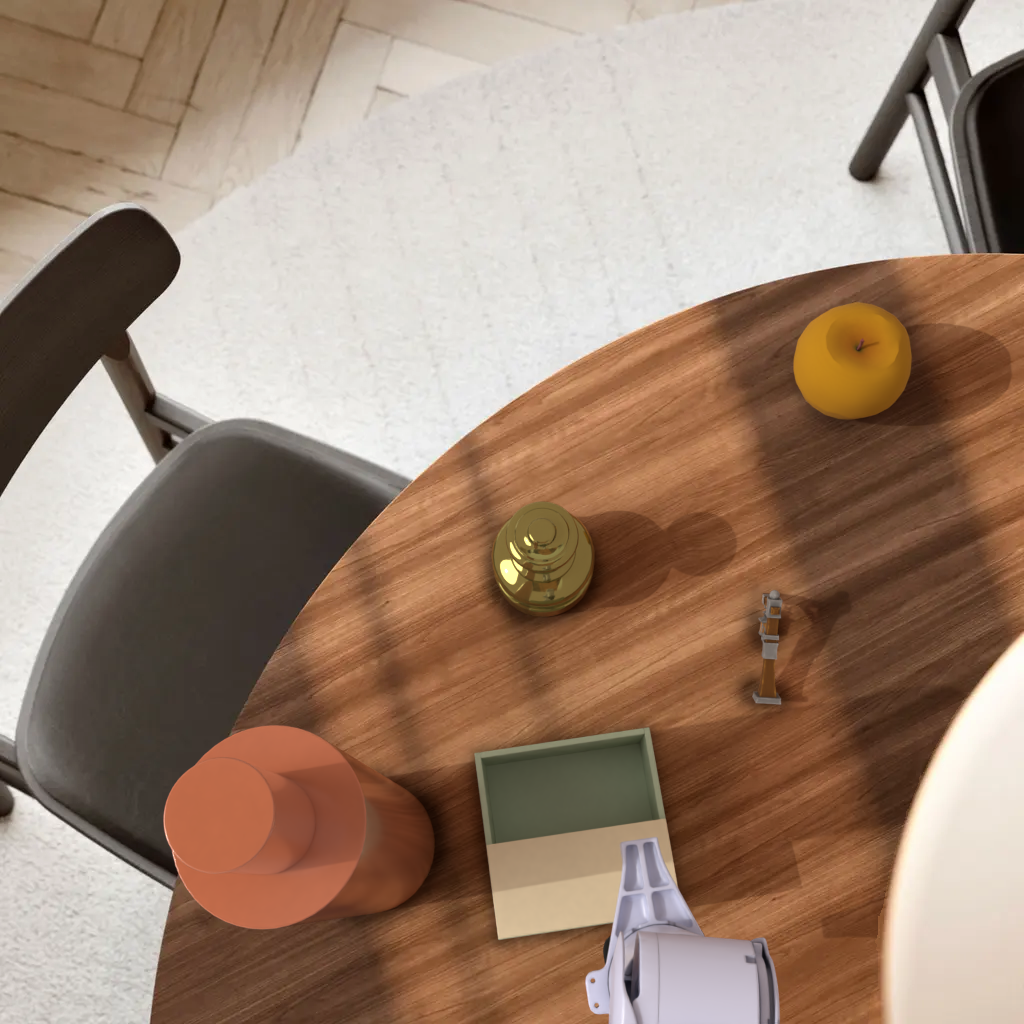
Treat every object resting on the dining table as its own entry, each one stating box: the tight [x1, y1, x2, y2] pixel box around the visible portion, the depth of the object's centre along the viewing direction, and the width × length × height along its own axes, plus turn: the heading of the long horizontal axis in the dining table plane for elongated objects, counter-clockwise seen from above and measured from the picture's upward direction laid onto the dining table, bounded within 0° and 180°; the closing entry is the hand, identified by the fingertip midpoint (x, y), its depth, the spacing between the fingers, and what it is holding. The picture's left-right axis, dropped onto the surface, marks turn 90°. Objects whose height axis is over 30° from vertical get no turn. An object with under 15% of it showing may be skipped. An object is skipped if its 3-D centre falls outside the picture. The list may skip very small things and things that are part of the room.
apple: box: [793, 301, 913, 420], centre depth 86 cm, size 8×8×9 cm
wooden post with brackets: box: [751, 589, 783, 705], centre depth 83 cm, size 2×8×4 cm, turn 176°
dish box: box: [473, 726, 667, 941], centre depth 78 cm, size 12×12×6 cm
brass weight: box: [491, 500, 596, 618], centre depth 82 cm, size 7×7×10 cm
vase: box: [163, 724, 436, 930], centre depth 63 cm, size 9×9×38 cm
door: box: [485, 819, 679, 940], centre depth 74 cm, size 6×12×1 cm, turn 98°
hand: (650, 970), depth 69 cm, fingers closed
